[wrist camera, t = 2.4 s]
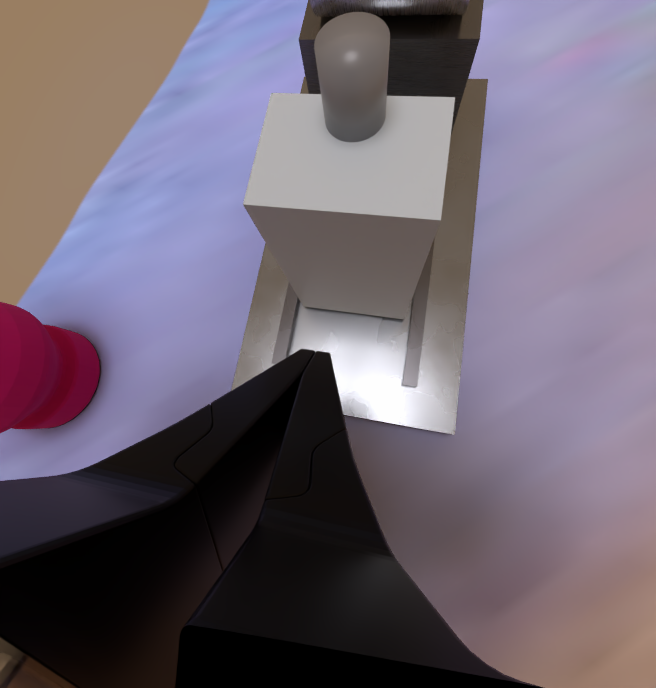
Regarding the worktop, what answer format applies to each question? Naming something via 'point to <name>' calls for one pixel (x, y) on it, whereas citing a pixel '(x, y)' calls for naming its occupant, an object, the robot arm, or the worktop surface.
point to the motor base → (445, 253)
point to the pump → (351, 177)
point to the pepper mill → (42, 372)
